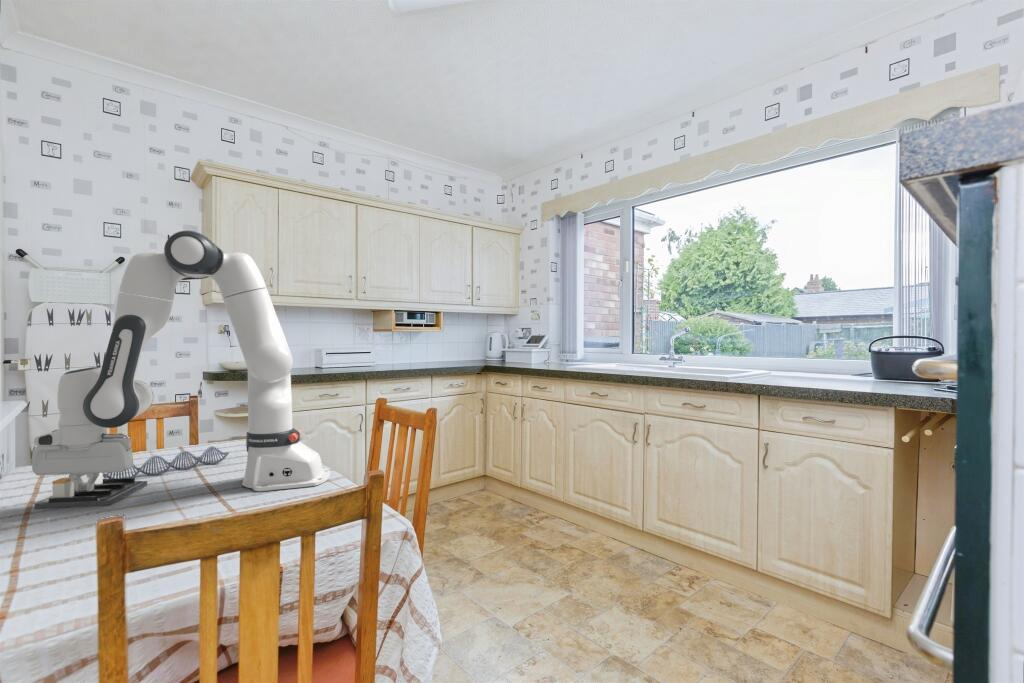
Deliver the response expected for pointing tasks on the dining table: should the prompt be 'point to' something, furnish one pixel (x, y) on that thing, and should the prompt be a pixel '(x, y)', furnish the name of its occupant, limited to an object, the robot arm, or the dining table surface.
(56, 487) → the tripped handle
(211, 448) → the decorative sculpture
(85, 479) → the white rectangular block
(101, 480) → the handle
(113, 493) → the panel
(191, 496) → the dining table surface
